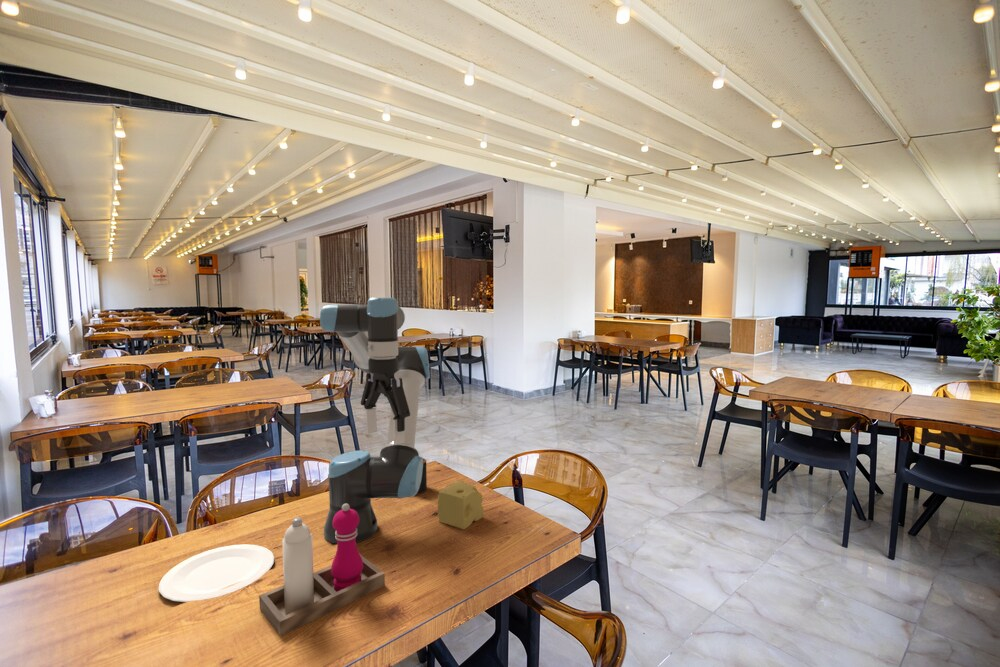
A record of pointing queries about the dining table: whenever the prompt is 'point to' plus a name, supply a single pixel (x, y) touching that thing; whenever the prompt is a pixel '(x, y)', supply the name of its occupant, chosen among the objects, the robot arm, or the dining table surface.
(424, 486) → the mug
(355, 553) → the pepper mill
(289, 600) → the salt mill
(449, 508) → the cheese
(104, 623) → the dining table surface
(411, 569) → the dining table surface
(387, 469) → the robot arm
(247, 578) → the plate
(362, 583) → the wooden compartment tray
